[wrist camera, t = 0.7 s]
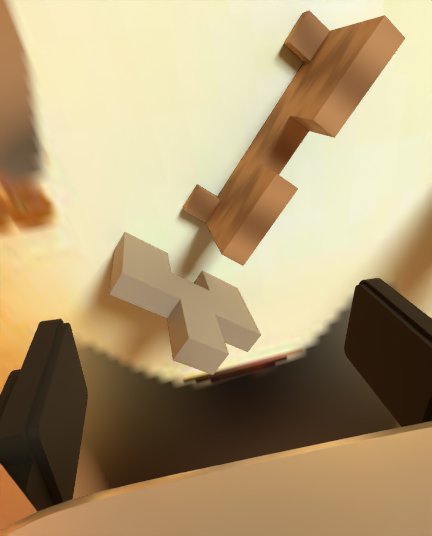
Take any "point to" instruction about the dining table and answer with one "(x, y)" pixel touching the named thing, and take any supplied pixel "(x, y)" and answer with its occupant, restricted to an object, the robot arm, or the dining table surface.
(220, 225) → the walnut slotted stand
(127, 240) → the grey slotted plate
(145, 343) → the dining table surface
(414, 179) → the dining table surface
